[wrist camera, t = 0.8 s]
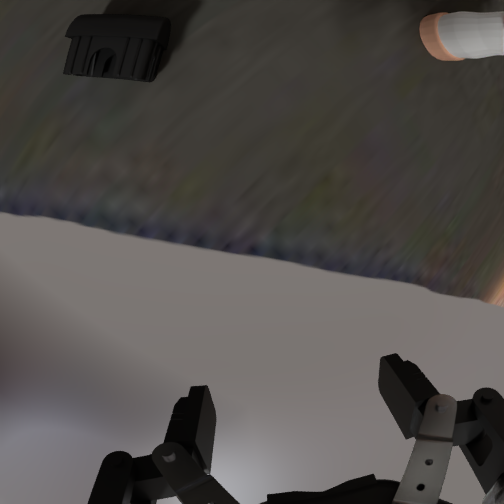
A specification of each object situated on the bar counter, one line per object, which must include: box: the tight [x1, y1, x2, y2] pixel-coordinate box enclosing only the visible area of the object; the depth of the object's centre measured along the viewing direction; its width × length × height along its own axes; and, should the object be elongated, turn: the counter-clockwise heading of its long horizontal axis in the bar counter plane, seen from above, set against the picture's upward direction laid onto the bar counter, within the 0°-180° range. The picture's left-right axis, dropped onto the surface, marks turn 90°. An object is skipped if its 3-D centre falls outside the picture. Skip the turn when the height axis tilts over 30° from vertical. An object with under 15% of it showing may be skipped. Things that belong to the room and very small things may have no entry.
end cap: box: [63, 14, 171, 82], centre depth 23 cm, size 10×7×7 cm
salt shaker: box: [419, 11, 504, 61], centre depth 19 cm, size 7×7×19 cm
